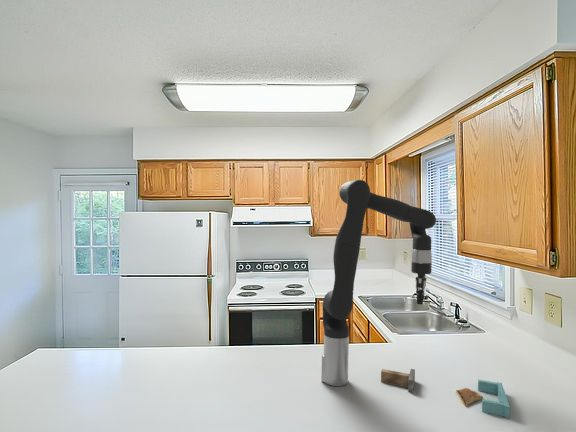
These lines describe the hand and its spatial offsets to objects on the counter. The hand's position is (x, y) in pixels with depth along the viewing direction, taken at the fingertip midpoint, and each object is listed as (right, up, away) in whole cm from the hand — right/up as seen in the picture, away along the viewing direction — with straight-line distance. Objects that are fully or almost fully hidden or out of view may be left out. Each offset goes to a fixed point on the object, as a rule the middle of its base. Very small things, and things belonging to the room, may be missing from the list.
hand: (420, 301), depth 146 cm
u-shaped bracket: (+16, -29, -22) cm, 40 cm away
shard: (+10, -29, -21) cm, 37 cm away
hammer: (-13, -28, -10) cm, 32 cm away
